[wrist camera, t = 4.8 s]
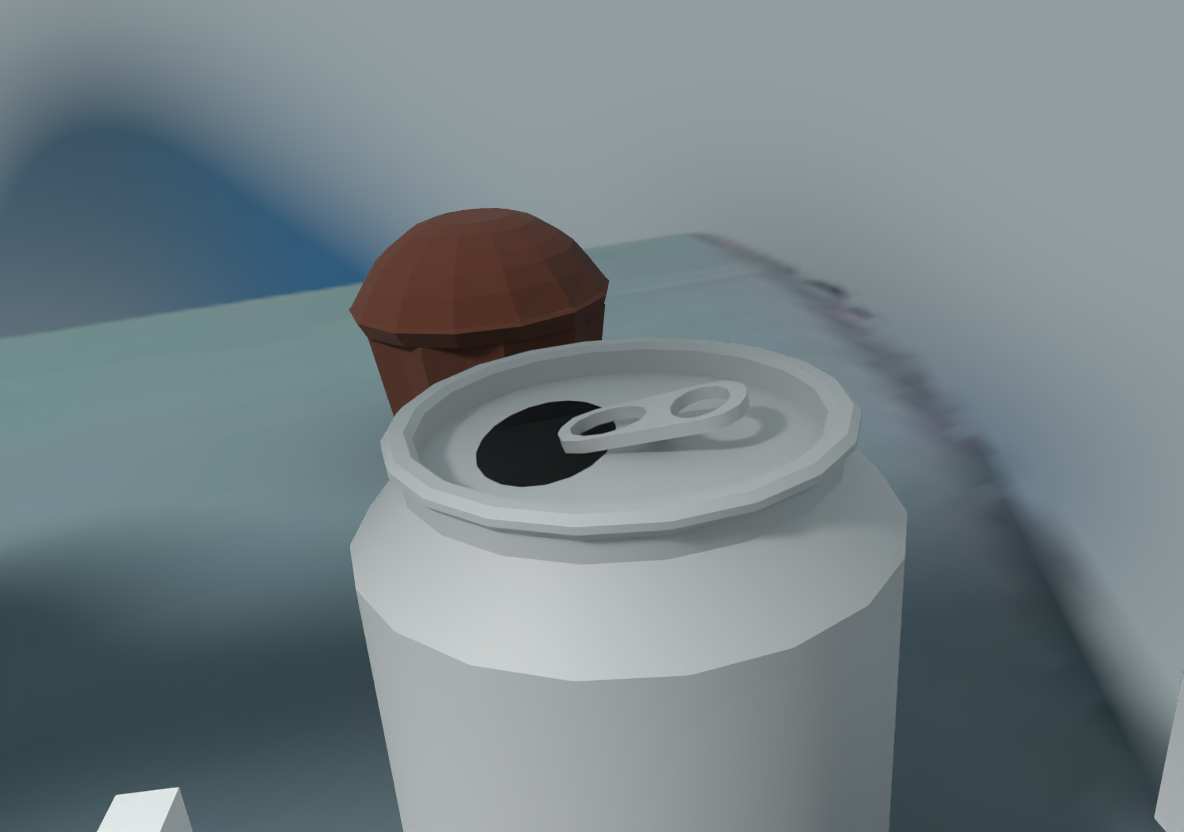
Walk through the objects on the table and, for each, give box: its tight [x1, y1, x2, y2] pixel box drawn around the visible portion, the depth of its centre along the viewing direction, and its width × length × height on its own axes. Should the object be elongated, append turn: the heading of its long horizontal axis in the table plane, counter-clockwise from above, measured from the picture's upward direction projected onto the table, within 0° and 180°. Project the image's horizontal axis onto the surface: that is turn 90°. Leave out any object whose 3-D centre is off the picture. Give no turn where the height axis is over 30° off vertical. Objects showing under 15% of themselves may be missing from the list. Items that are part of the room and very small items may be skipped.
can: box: [350, 338, 907, 832], centre depth 14 cm, size 8×8×12 cm
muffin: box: [349, 208, 609, 416], centre depth 41 cm, size 12×11×10 cm
